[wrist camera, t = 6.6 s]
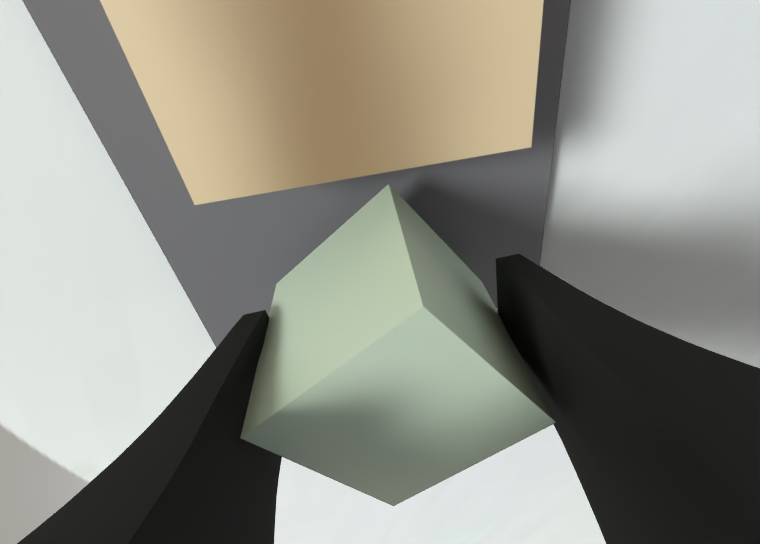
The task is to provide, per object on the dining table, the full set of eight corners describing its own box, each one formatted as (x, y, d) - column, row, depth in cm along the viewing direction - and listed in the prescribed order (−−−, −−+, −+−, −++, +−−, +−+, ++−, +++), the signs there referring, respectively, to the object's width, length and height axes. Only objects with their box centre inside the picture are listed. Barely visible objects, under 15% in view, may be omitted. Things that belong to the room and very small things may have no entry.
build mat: (610, -445, 6) (626, -472, 6) (530, 295, 14) (535, 301, 14) (-132, -306, 6) (-159, -324, 6) (222, 346, 15) (220, 354, 14)
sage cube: (482, 281, 12) (555, 422, 8) (377, 355, 13) (393, 506, 9) (388, 183, 10) (423, 306, 6) (276, 283, 11) (240, 438, 7)
